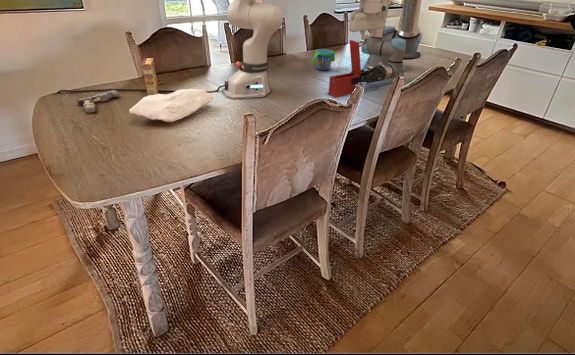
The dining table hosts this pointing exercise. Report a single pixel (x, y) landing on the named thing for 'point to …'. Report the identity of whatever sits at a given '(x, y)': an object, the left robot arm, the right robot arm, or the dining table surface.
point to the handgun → (95, 100)
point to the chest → (342, 84)
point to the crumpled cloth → (171, 104)
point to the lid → (356, 55)
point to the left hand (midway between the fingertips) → (365, 39)
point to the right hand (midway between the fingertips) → (347, 79)
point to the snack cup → (323, 58)
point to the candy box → (150, 76)
